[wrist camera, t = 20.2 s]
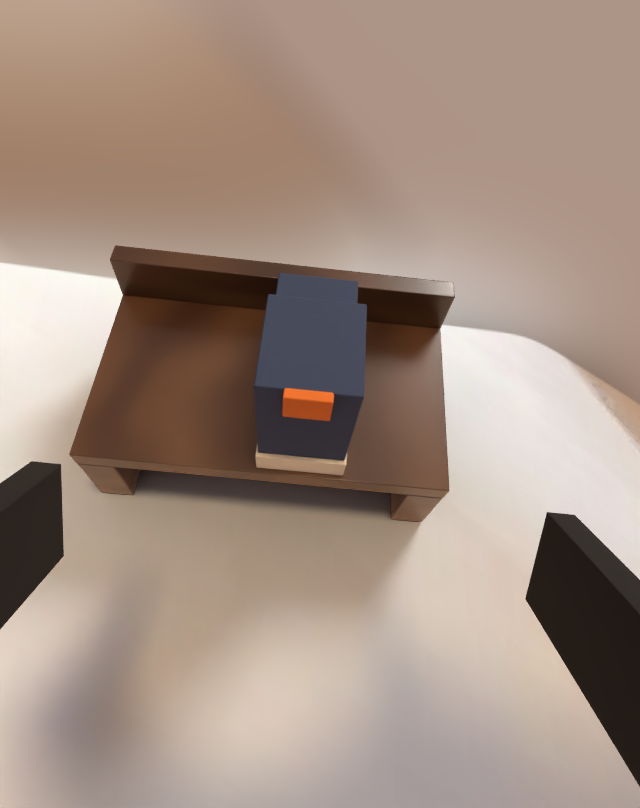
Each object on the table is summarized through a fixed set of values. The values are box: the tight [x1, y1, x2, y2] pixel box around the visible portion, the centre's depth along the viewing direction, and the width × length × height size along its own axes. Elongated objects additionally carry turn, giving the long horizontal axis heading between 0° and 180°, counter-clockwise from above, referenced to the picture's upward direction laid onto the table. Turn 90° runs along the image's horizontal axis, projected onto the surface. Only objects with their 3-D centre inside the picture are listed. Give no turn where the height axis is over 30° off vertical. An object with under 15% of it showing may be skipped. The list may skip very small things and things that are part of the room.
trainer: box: [254, 273, 367, 476], centre depth 26 cm, size 10×5×8 cm, turn 176°
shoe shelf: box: [70, 246, 455, 522], centre depth 31 cm, size 20×12×9 cm, turn 86°
